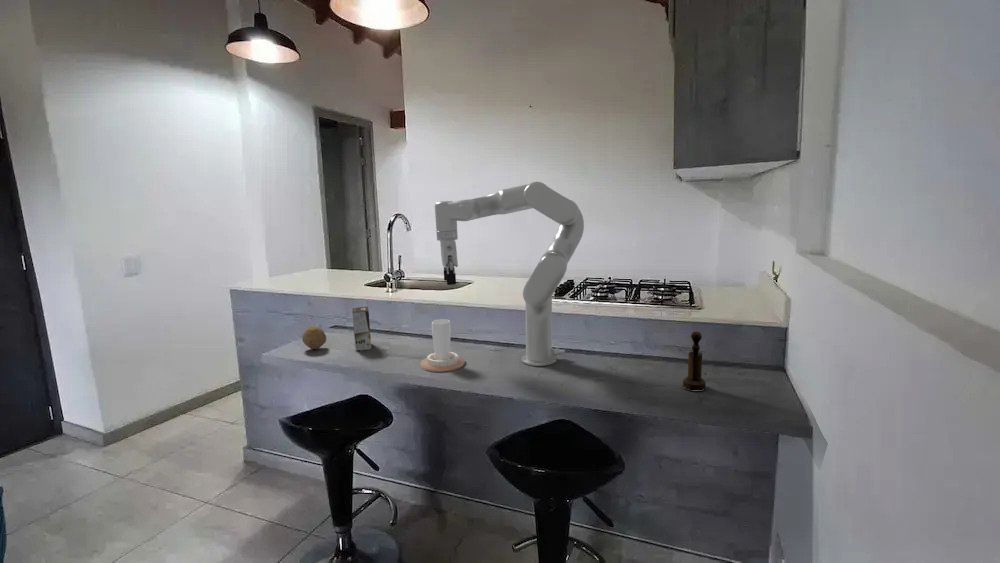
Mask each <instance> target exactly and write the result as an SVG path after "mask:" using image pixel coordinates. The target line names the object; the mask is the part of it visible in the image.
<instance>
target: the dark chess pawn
mask: <svg viewBox="0 0 1000 563" xmlns="http://www.w3.org/2000/svg"><path fill="white" fill-rule="evenodd" d="M702 337H703V335H702V333H701V332H699V331H696V330H695V331H692V333H691V335H690V338H691V340H692V343H693V345H691V350H692V351H689V352H688V358H687V359H688V360H687V361H688V362H687V364H688V365H687V376H685V378H683V379H682V388H683V387H685V388H686V389H690V390H703V389H705V390H706V387H707V386H706V381H705V380H704V379H703V378H702V372H703V370H702V368H703V353H702V352H699V351H700V349H701V346H700V344H699V342H700V341H701V340H702ZM686 389H685V390H686Z"/></svg>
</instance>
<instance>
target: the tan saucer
mask: <svg viewBox="0 0 1000 563" xmlns="http://www.w3.org/2000/svg"><path fill="white" fill-rule="evenodd" d="M465 362H466V360H465V358H464V357H462V356H461V355H460V356H459V355H458V353H456V352H453V351H450V359H448V360H441V361H439V360H435V352H432V353H430V354H428V355H427V357H426V358H424V359H422V360H421V361H420V368H421V369H422V370H424V371H427V372H432V373H447V372H451V371H455V370H458V369H461V368H462V367H463V366H465V364H466V363H465Z"/></svg>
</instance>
